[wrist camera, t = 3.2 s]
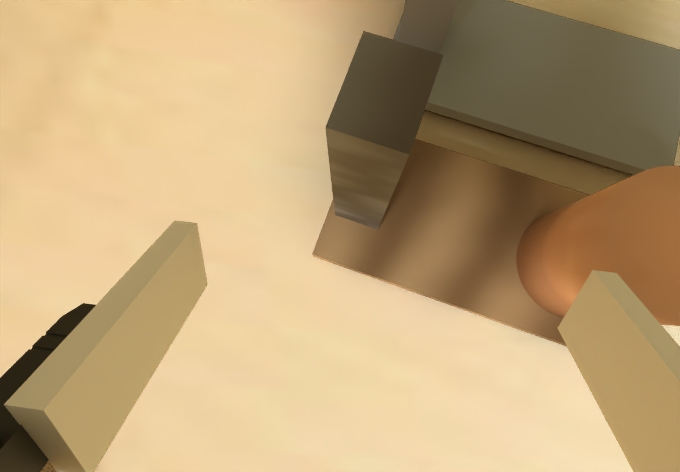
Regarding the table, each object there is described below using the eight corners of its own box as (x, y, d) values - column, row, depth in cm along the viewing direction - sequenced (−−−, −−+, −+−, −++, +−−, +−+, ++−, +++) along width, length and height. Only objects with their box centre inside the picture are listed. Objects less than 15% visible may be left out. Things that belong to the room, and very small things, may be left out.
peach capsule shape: (504, 297, 23) (587, 292, 15) (530, 198, 24) (620, 145, 16) (614, 335, 22) (760, 351, 14) (635, 232, 24) (780, 194, 16)
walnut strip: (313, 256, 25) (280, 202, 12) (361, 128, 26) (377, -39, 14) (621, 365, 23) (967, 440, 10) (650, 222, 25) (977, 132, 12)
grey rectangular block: (374, 93, 27) (401, -99, 14) (414, -14, 29) (471, -272, 16) (658, 182, 25) (978, 56, 12) (682, 63, 27) (984, -155, 14)
